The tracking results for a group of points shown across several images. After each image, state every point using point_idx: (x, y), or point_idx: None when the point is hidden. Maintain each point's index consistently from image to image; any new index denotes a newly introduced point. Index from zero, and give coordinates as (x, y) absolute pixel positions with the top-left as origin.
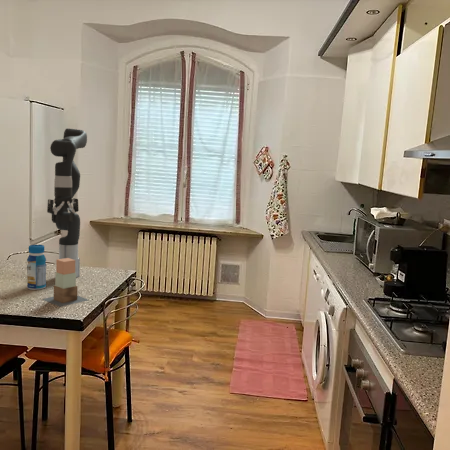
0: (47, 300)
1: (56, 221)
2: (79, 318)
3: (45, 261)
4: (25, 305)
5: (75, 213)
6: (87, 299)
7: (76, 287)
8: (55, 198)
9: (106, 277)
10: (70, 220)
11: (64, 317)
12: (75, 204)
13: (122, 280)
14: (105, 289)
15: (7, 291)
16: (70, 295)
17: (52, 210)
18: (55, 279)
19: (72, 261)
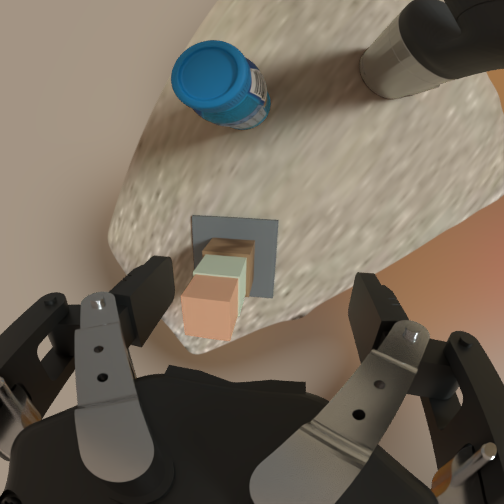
0: (196, 234)
1: (168, 303)
2: (194, 351)
3: (250, 112)
4: (149, 225)
5: None
6: (271, 293)
7: (245, 295)
8: (22, 491)
9: (453, 165)
10: (355, 288)
11: (177, 332)
12: (443, 457)
13: (454, 222)
14: (370, 254)
15: (169, 90)
16: None
17: (71, 369)
18: (200, 262)
19: (219, 337)
